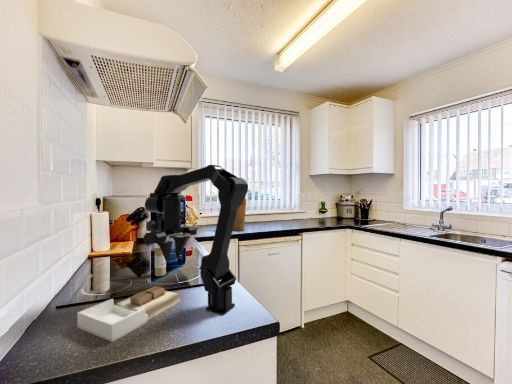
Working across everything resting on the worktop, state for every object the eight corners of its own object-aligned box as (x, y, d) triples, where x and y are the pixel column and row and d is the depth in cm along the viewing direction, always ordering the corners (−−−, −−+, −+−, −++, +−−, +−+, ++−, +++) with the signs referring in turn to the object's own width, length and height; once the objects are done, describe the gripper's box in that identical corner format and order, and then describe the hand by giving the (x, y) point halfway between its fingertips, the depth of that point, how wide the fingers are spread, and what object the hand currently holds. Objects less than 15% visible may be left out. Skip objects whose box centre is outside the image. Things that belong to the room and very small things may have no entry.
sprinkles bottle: (163, 272, 109) (162, 241, 109) (168, 274, 106) (167, 242, 106) (152, 274, 105) (152, 242, 105) (157, 277, 102) (157, 244, 102)
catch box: (148, 322, 68) (147, 307, 68) (112, 342, 59) (112, 325, 59) (114, 311, 74) (114, 297, 74) (77, 327, 65) (77, 312, 65)
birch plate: (180, 301, 80) (179, 294, 80) (145, 321, 68) (145, 312, 68) (153, 295, 85) (153, 287, 85) (116, 311, 73) (116, 303, 73)
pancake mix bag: (247, 231, 213) (246, 198, 213) (224, 232, 211) (223, 198, 210) (246, 230, 219) (246, 198, 219) (224, 230, 217) (224, 198, 217)
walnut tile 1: (151, 301, 75) (151, 294, 75) (139, 306, 71) (139, 299, 71) (142, 298, 76) (142, 291, 76) (130, 303, 73) (130, 297, 73)
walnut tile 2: (164, 294, 79) (164, 288, 79) (154, 299, 76) (154, 293, 76) (155, 292, 81) (155, 286, 81) (145, 297, 77) (144, 290, 77)
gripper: (174, 210, 97) (174, 250, 97) (131, 214, 80) (131, 263, 80) (197, 211, 92) (197, 254, 92) (156, 216, 75) (156, 268, 75)
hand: (172, 259), depth 85 cm, fingers open, 4 cm apart
